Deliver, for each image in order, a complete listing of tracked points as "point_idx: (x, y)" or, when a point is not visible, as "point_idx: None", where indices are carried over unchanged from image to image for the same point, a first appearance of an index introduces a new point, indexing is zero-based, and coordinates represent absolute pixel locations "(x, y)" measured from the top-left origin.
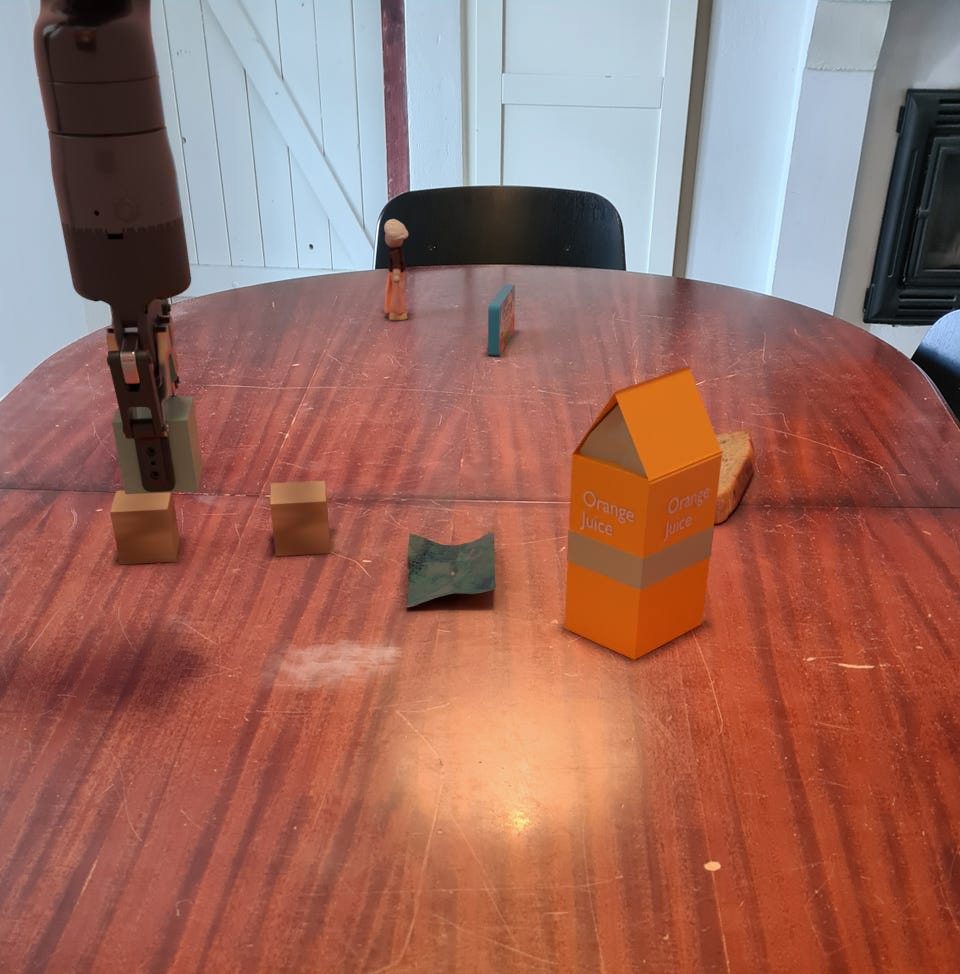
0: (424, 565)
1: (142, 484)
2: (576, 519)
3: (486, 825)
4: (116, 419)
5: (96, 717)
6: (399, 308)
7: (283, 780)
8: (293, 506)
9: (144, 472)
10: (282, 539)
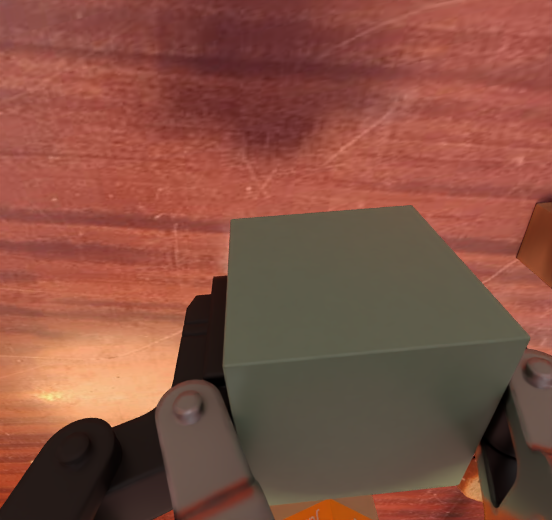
0: None
1: (213, 281)
2: (325, 513)
3: (37, 382)
4: (260, 372)
5: (138, 31)
6: None
7: (54, 259)
8: None
9: (185, 322)
10: (547, 222)
